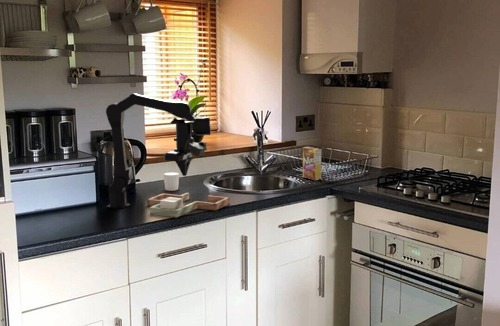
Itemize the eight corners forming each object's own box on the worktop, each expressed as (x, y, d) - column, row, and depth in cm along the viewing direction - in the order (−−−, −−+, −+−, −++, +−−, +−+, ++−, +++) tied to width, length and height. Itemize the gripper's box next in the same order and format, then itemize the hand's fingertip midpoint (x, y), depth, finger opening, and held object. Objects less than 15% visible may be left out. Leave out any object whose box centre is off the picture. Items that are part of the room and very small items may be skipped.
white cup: (160, 189, 246) (160, 174, 245) (170, 186, 252) (169, 171, 251) (173, 191, 243) (173, 175, 242) (182, 188, 249) (182, 172, 248)
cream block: (174, 215, 206) (173, 202, 205) (160, 213, 209) (160, 200, 208) (183, 211, 212) (182, 198, 211) (169, 209, 214) (169, 196, 213)
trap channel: (195, 220, 199) (195, 213, 199) (132, 211, 211) (132, 205, 211) (229, 203, 222) (229, 197, 222) (170, 196, 234) (170, 190, 233)
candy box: (301, 179, 268) (302, 147, 265) (308, 177, 270) (309, 146, 268) (314, 182, 261) (315, 149, 258) (321, 181, 263) (322, 148, 260)
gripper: (188, 139, 203) (189, 182, 205) (214, 133, 219) (214, 173, 222) (162, 137, 207) (164, 179, 210) (189, 132, 224) (190, 170, 227)
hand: (184, 175), depth 217 cm, fingers closed
